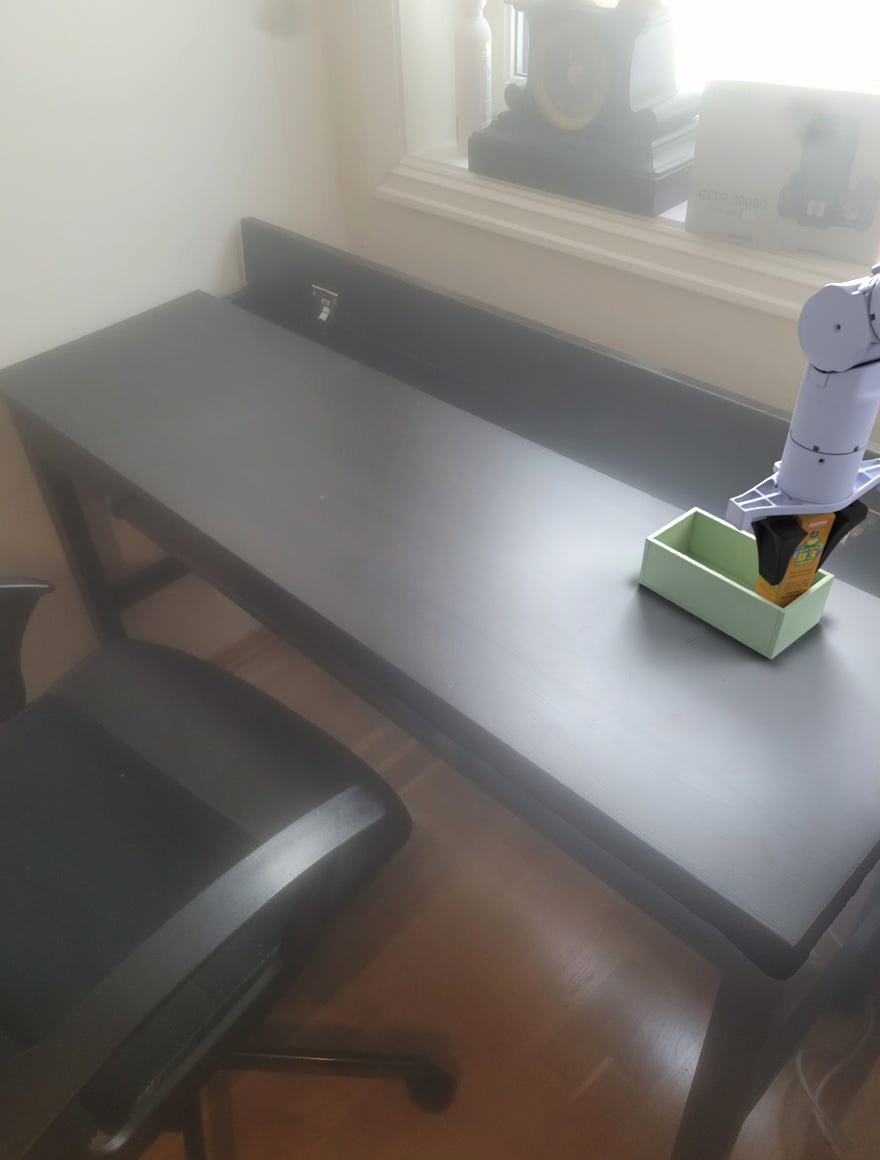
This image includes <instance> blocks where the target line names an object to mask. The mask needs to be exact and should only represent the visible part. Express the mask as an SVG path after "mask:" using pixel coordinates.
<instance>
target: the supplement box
mask: <svg viewBox="0 0 880 1160" xmlns="http://www.w3.org/2000/svg"><path fill="white" fill-rule="evenodd" d="M794 517H797V519H796V523H797V524H798V525H799V526H801V527H802V528H803V529H804V530H805V531H807V532H808V533H809V534H808V535H807V536H806V537H805V538H804V539H803V540H802V541H801V543H800V544H799V545H798V547H797V548H796V550H795V551H794V553H793V555H792V557H791V559H790V561H789V564H788V567H787V570H786V573H785V575H784V577H783V579H782V580H781V582H780V583H779V584H778V585H775V586H771V585H770V584H769V583H768V582H767V581H766V580H765V579H764V578H763V577H762V576H761V575H760V574H758V578H757V581H756V585H755V588H754V589H755V591H756V592H757V593H758V595H759V596H761V597H763V598H765V599H766V600H768V601H770V602H772V603H774V604H776V605H778V606H779V607H781V608H785V607H786V606H788V605H789V604H790V603H792V602H793V601H794V600H795V599H797V598H798V597H799V596H801V595H802V594H803V593H805V592H806V591H807V590H808V589H809V586H810V584H811V581H812V578H813V576H814V573H815V570H816V568H817V565H818V562H819V560H820V557H821V554H822V551H823V549H824V546H825V543H826V540H827V538H828V535H829V532H830V530H831V527H832V524H833V521H834V519H835V514H834V513H833V512H830V513H814V514H794Z"/></svg>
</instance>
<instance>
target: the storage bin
mask: <svg viewBox="0 0 880 1160" xmlns="http://www.w3.org/2000/svg"><path fill="white" fill-rule="evenodd" d="M758 574H759V564H758V550H757V543H756V538H755V535H754V534H752V533H749V532H748V531H746V530H742V531H739V530H738V529H737V528H735V527H734V526H733V525H732V524H731V523H730V522H727V521H726V520H723V519H721V518H719V517H717V516H715V515H713V514H711V513H709V512H707V511H705V510H703V509H701V508H699V507H697V506H695V507H693V508H691V509H690V510H688V511H687V512H685V513H683V514H682V515H680V516H679V517H677V518H675V519H673V520H672V521H671V522H669V523H668V524H666V525H664V526H663V527H661V528H660V529H658V530H656V531H655V532H653V533H652V534H650V535H648V536H647V537H645V541H644V548H643V554H642V562H641V568H640V574H639V581H638V582H639V584H640V585H642V586H643V587H645V588H647V589H648V590H651V591H652V592H654V593H656V594H658V595H659V596H661V597H662V598H665V600H668V601H670V602H671V603H673V604H674V605H676V606H678V607H679V608H682V609H683V610H684V611H686V612H688V613H690V614H692V615H694V616H695V617H696V618H699V619H700V620H702V621H703V622H706V623H707V624H709V625H711V626H712V627H714V628H716V629H717V630H719V631H721V632H723V633H725V634H726V635H728V636H729V637H731V638H733V639H735V640H736V641H738V642H739V643H741V644H743V645H744V646H747V647H748V648H750V649H752V650H754V651H755V652H757V653H759V654H761V655H762V656H763V657H766V658H767V659H769V660H773V659H774V658H776V656H778V655H779V654H781V652H783V651H784V650H785V649H787V648H788V647H789V646H790V645H792V644H793V643H794V642H796V641H797V640H798V639H799V638H801V637H802V636H803V635H805V634H806V633H807V632H808V631H809V630H810V629H812V628H813V627H814V626H816V625H817V624H818V623H819V622H820V620H821V617H822V614H823V612H824V608H825V605H826V603H827V599H828V597H829V594H830V591H831V589H832V584H833V582H834V579H835V574H832V573H830V572H828V571H826V570H824V569H822V568H820V569H819V570H818V571H817V573H815V574H814V576H813V578H812V581H811V584H810V586H809V589H808V590H807V591H806V592H805V593H803V594H802V595H801V596H799V597H798V598H797V599H795V600H794V601H793V602H792V603H790V604H789V605H788V606H786V607H785V608H781V607H779V606H778V605H776V604H774V603H772V602H770V601H768V600H766V599H765V598H763V597H761V596H759V595H758V593H757V592H756V591H755V589H754V588H755V585H756V581H757V578H758Z"/></svg>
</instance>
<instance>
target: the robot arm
mask: <svg viewBox="0 0 880 1160" xmlns="http://www.w3.org/2000/svg"><path fill="white" fill-rule="evenodd" d="M870 272H871V275H870V276H866V277H862V278H859V279H858V278H857V279H854V280H850V281H846V282H843V283H828V284H825V285H824V286H823V287H822V288H821V289H819V290H818V291H816V292H814V293H812V295H810V296H809V297H808V299H807V300H806V301H805V303H804V304H803V306H802V308H801V311H800V314H799V318H798V322H797V323H798V324H797V325H798V326H797V336H798V341H799V342H798V343H799V346H800V348H801V351H802V353H803V356H804V357H805V358H806V362H805V367H804V371H803V375H802V378H801V384H800V386H799V390H798V394H797V398H796V401H795V407H794V410H793V413H792V417H791V420H790V425H789V430H788V432H787V437H786V440H785V444H784V449H783V453H782V456H781V460H780V461H775V463H774V464H773V468H772V472H773V473H774V474H772V475H770V476H769V477H768V478H766V479H764V480H763V481H762V482H760V483H759V484H756V486H753V488H750V489H749V490H748V491H746V492H744V493H743V494H740V495H738V496H735V497H732V498H729V500H728V504H727V508H726V514H725V517H724V518H725V520H726V521H728V523H729V524H731V525H733V526H734V527H735V528H737V529H738V530H739V531H742V530H743V531H746V530H749V529H750V527H751V528H752V531H753V535H754V536H755V538H756V543H757V550H758V564H759V574H760V575H761V576H762V577H763V578H764V579H765V580H766V581H767V582H768V583H769V584H770V585H771V586H775V585H778V584H779V583H780V582H781V580H782V579H783V577H784V575H785V573H786V570H787V567H788V564H789V561H790V559H791V557H792V555H793V553H794V551H795V550H796V548H797V547H798V545H799V544H800V543H801V541H802V540H803V539H804V538H805V537H806V536H807V535H808V534H809V533H808V532H807V531H805V530H804V529H803V528H802V527H801V526H799V525H798V524H797V523H796V519H797V517H794V514H814V513H830V512H833V513H834V514H835V519H834V521H833V524H832V527H831V530H830V532H829V535H828V538H827V540H826V543H825V546H824V549H823V551H822V554H821V557H820V560H819V562H818V565H817V568H816V570H815V573H817V571H818V570H819V569H821V568H822V566H823V565H824V564H825V562H826V560H827V559H828V558H829V556H830V555H831V554H832V552H833V551H834V549H835V548H836V547H837V545H838V544H839V543H840V542H841V541H842V540H843V539H844V538H845V537H846V536H847V535H848V534H849V533H850V532H851V530H853V529H855V527H857V526H858V525H859V524H861V523H862V522H864V521H865V520H866V519H867V516H868V513H869V507H868V506H867V505H866V504H865V503H864V502H862V501H861V500H860V499H859V498H860V497H862V496H863V495H865V494H866V493H867V492H868V491H870V490H872V489H875V490H876V491H878V492H880V457H878V458H873V459H868V460H863V459H864V456H865V452H866V450H867V446H868V443H869V441H870V437H871V433H872V431H873V429H874V428H873V427H874V424H875V422H876V418H877V415H878V413H879V409H880V263H878V264H876V265H873V266H872V268H871V269H870ZM815 573H814V574H815Z"/></svg>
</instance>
